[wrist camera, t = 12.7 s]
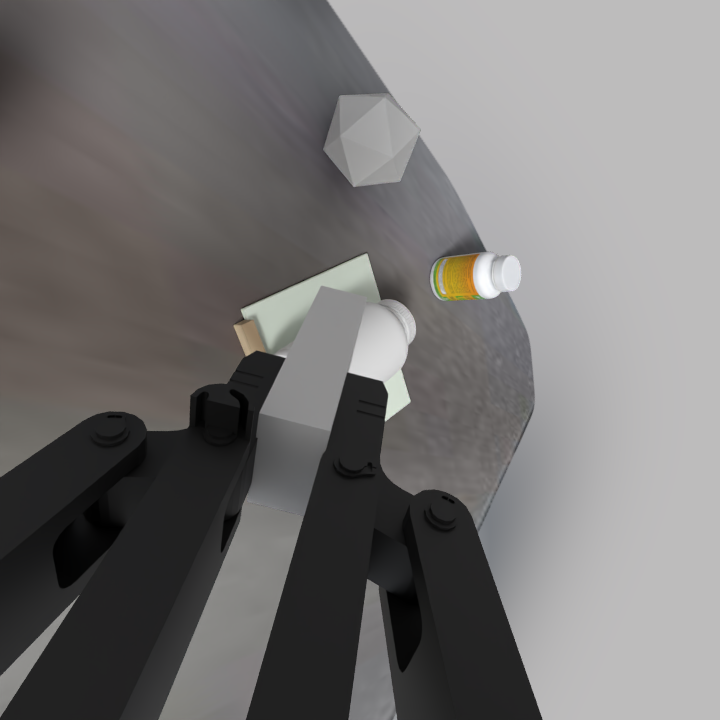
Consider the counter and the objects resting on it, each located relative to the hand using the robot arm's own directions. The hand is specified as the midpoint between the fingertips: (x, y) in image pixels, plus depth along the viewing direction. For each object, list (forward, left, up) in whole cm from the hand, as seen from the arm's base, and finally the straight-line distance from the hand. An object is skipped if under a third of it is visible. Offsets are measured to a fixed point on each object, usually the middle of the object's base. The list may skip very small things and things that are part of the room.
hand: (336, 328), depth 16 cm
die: (-29, +8, -27) cm, 40 cm away
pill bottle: (-3, +14, -22) cm, 26 cm away
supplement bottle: (-29, +28, -27) cm, 49 cm away
